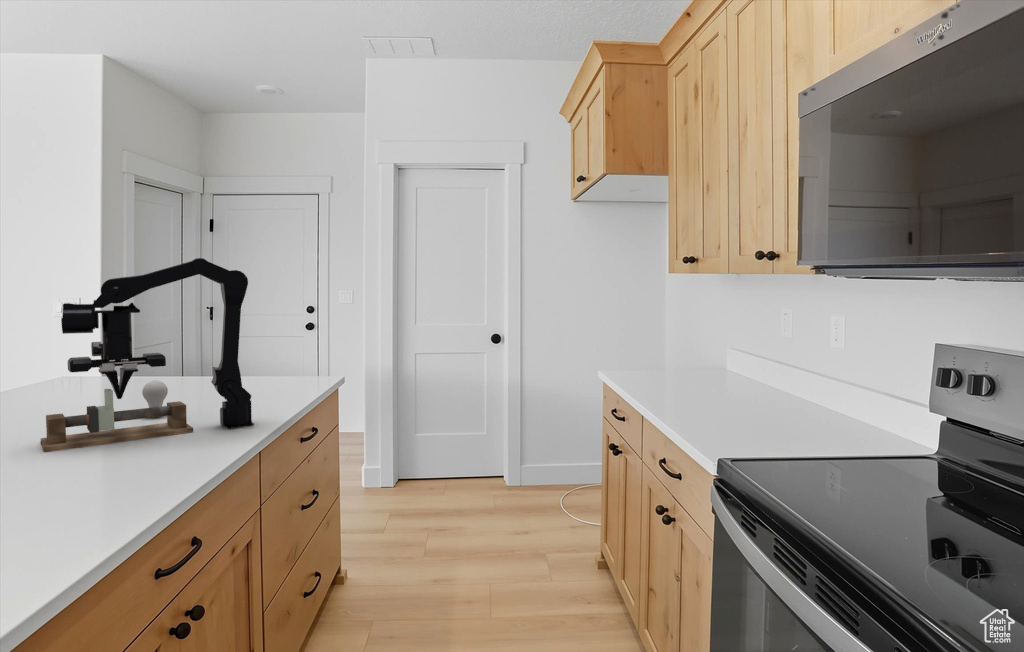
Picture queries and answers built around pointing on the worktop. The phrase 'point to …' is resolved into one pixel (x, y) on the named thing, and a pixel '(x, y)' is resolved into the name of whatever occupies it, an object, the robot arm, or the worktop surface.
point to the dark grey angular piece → (93, 419)
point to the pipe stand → (62, 441)
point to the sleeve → (106, 412)
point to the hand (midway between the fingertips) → (119, 398)
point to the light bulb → (155, 393)
